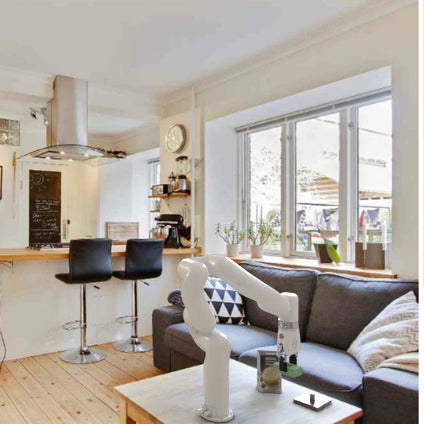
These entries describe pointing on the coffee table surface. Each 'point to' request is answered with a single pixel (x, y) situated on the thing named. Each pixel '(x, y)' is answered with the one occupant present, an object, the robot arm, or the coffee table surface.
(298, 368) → the green block with hole
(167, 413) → the coffee table surface
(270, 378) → the coffee box
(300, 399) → the wooden peg base
